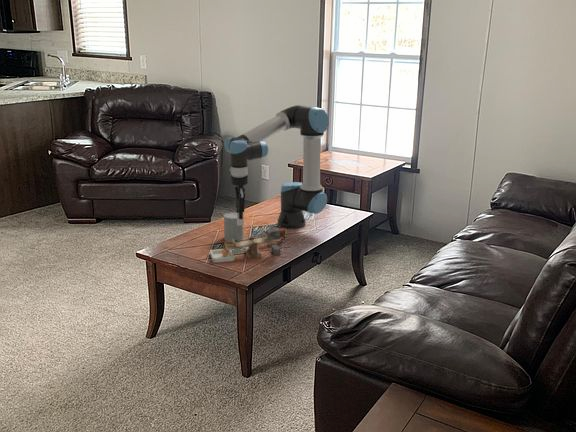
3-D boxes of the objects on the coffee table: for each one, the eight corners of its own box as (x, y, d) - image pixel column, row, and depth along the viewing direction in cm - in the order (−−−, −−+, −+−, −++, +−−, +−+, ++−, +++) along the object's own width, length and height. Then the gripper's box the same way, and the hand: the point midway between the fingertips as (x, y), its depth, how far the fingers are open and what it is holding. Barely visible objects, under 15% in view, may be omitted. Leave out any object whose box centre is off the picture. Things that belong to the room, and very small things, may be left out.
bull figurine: (259, 243, 290) (259, 227, 287) (284, 239, 295) (284, 224, 292) (262, 246, 286) (262, 230, 283) (287, 242, 291) (287, 227, 288)
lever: (278, 236, 280) (277, 227, 278) (281, 241, 274) (280, 230, 273) (224, 246, 274) (223, 236, 272) (226, 250, 269) (225, 240, 267)
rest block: (277, 249, 282) (277, 244, 281) (280, 254, 276) (280, 249, 276) (271, 250, 281) (271, 245, 280) (274, 254, 276) (274, 250, 275)
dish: (230, 252, 278) (230, 248, 278) (234, 260, 268) (234, 256, 268) (209, 254, 276) (209, 250, 275) (213, 262, 266) (213, 258, 265)
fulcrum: (257, 250, 280) (257, 236, 278) (261, 257, 273) (261, 242, 270) (245, 251, 279) (244, 237, 277) (248, 258, 271) (248, 243, 269)
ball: (226, 246, 273) (219, 249, 272) (227, 249, 270) (220, 252, 269) (229, 252, 274) (222, 255, 274) (230, 255, 271) (223, 258, 271)
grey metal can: (240, 242, 290) (239, 219, 286) (221, 241, 292) (221, 217, 288) (245, 236, 299) (245, 213, 295) (227, 234, 301) (226, 211, 297)
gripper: (228, 172, 267) (229, 220, 275) (233, 179, 255) (235, 230, 263) (244, 171, 269) (245, 219, 276) (250, 178, 257) (251, 228, 265)
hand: (240, 224), depth 270 cm, fingers closed
